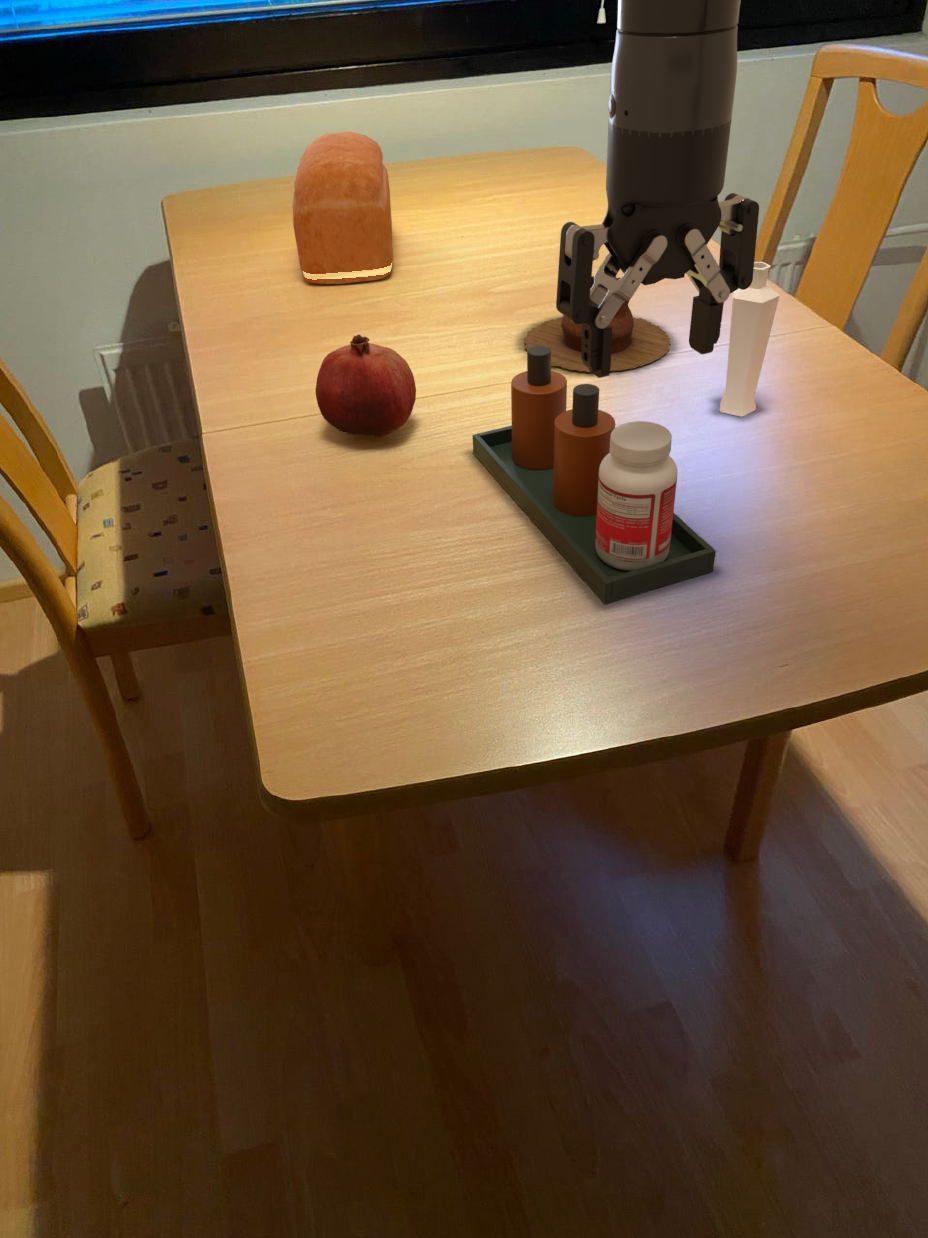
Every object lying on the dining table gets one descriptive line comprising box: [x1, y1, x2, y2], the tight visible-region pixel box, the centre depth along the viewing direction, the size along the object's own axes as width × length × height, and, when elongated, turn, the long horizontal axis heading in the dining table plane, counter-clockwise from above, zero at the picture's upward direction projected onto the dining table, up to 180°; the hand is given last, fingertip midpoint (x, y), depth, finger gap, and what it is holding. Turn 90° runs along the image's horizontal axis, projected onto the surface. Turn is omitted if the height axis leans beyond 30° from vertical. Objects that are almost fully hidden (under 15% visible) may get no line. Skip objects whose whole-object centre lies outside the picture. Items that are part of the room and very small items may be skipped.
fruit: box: [315, 334, 417, 438], centre depth 95 cm, size 11×10×10 cm
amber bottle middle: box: [553, 383, 616, 516], centre depth 82 cm, size 5×5×11 cm
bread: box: [292, 131, 394, 285], centre depth 138 cm, size 14×26×16 cm, turn 4°
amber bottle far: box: [510, 346, 568, 470], centre depth 88 cm, size 5×5×11 cm
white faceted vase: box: [719, 261, 781, 418], centre depth 94 cm, size 5×4×15 cm
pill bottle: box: [596, 420, 678, 571], centre depth 75 cm, size 6×6×11 cm
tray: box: [472, 425, 717, 605], centre depth 85 cm, size 10×27×2 cm, turn 22°
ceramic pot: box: [522, 275, 672, 373], centre depth 111 cm, size 18×18×7 cm
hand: (650, 361), depth 68 cm, fingers open, 8 cm apart
